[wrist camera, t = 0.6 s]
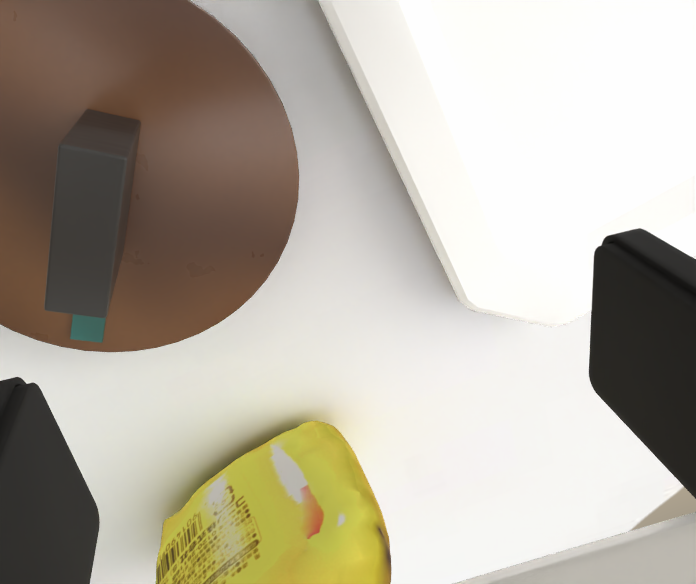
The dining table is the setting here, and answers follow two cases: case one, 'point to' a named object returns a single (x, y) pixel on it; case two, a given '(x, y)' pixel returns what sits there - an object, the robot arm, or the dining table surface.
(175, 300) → the turntable
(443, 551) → the dining table surface
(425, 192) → the plate
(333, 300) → the dining table surface
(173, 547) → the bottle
